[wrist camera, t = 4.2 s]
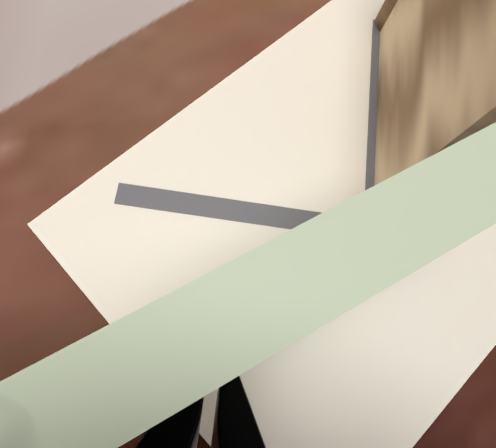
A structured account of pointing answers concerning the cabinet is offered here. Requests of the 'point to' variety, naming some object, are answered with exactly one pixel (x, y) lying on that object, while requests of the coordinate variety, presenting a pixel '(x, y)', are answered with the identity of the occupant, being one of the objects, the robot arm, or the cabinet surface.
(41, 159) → the cabinet surface
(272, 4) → the cabinet surface
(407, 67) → the brown flat square block
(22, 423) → the folding fence panel
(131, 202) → the card
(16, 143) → the cabinet surface
